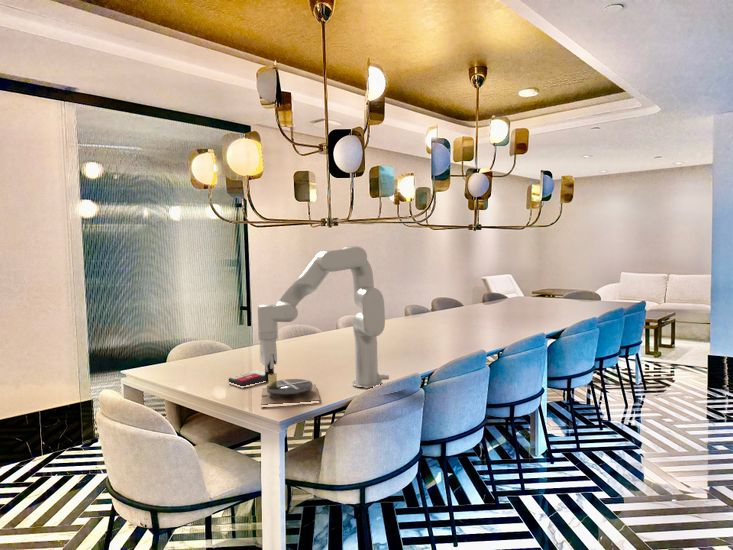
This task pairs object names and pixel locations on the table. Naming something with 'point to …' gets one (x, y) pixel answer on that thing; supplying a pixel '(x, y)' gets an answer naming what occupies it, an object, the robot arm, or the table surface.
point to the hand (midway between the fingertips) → (269, 381)
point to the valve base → (289, 397)
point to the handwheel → (287, 386)
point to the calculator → (248, 378)
